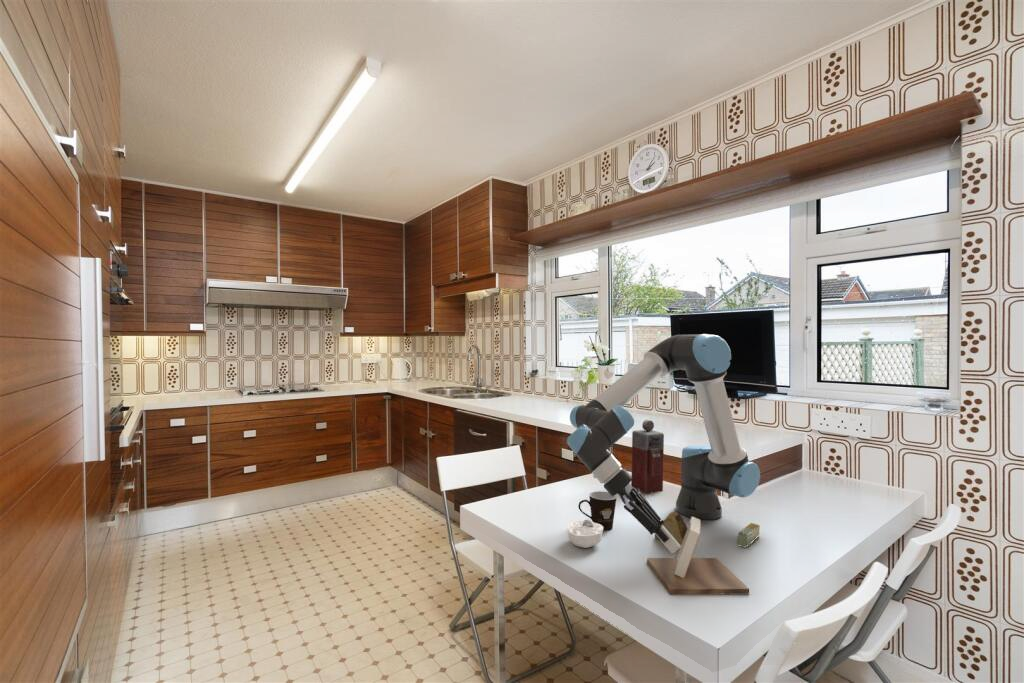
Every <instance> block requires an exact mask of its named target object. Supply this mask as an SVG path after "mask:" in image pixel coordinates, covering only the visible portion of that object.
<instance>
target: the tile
mask: <svg viewBox="0 0 1024 683" xmlns="http://www.w3.org/2000/svg"><path fill="white" fill-rule="evenodd" d="M701 522H702V521H701V519H697V518H695V517H690V519H689V523H688V526H687V531H686V534H685V537H684V540H683V542H682V545H681V547H680V549H679V552H678V554H677V556H676V558H677V562H676V568H675V574H676V575H678V576H680V577H682V578H685V575H686V573H687V570H688V567H689V564H690V561H691V559H692V558H693V556H694V552H695V549H696V547H697V545H698V541H699V539H700V536H701V526H702V525H701Z"/></svg>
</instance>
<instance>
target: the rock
mask: <svg viewBox="0 0 1024 683" xmlns="http://www.w3.org/2000/svg"><path fill="white" fill-rule="evenodd" d="M663 521H664V523H663V524H661V525H663V526H664V527H665V528H666V529H667V530H668V532H669V533H670V534H671V535H672V536H673V537H674V538H675V540H676V541H677V542H678V543H679V544H680V545H682V542H683V540H684V537H685V534H686V531H687V528H688V526H687V524H686V522H685V520H684V519H683V517H682V516H681V514H680V513H679V512H677V511H673V512H670V513H669V514H668V515H667V516H666V517H665V519H663ZM654 538H656V539H658V540H660V539H659V538H658V537H657V536H656V534H655V533H654Z"/></svg>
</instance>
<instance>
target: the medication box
mask: <svg viewBox="0 0 1024 683" xmlns="http://www.w3.org/2000/svg"><path fill="white" fill-rule="evenodd" d="M760 526H761V525H759V524H757V523H754V522H750V523H749V524H748V525H746V526H745V527H744V528H742V529H741V530H740V531H739V532H738V533H737V544H738V545H741V546H747V545H749V544H750V543H751V542H752V541H753V540H754V539H755V538H756V537H757V536H758V535H759V536H760ZM753 542H754V541H753ZM753 542H752V543H753ZM752 543H751V544H752ZM751 544H750V545H751ZM738 545H737V546H738ZM750 545H749V546H750ZM741 546H740V547H741Z"/></svg>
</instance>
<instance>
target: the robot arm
mask: <svg viewBox="0 0 1024 683" xmlns="http://www.w3.org/2000/svg"><path fill="white" fill-rule="evenodd" d="M731 352H732V351H731V348H730V346H729V345H728V343H727V341H726V340H725V339H724V338H722V337H721V336H719V335H717V334H716V335H715V334H709V333H702V334H700V333H699V334H676V335H672V336H670V337H667V338H666V339H664V340H662V341H660V342H659V343H657V344H655V346H653V347H652V348H651V349H649V350H648V351H647V352H645V353H644V355H643V359H642V360H640V361H639V362H638V363H637V364H635V365H634V366H633V367H631V368H630V369H629V370H628V371H627V372H625V373H624V374H623V375H622V376H620V377H619V378H618V379H617V380H615V381H614V382H613V383H612V384H610V385H609V386H608V387H607V388H605V389H604V390H603V391H601V393H599V394H598V395H597V396H595V397H594V398H593V399H592V400H590V401H589V402H588V403H586V404H585V405H584V404H582V405H576V406H574V407H573V408H572V409H571V411H570V413H569V420H570V424H571V425H572V426H573V427H574V428H575V431H573V432H572V433H571V434H570V435H568V437H567V439H566V443H567V445H568V446H569V448H570V449H571V450H572V452H573V453H574V455H576V456H577V458H578V459H579V460H580V461H581V462H582V463H583V464H584V465H585V466H586V468H587V469H588V470H589V471H590V472H591V474H592V475H593V478H594V479H596V480H597V481H598V482H599V483H600V484H603V488H604V489H605V490H606V492H608V493H609V494H610V495H611V496H614V495H616V496H617V495H618V496H619V497H620V499H621V501H622V503H623V504H624V505H623V508H624V510H626V511H627V512H629V514H631V516H632V517H634V519H636V520H637V521H638V522H639V524H641V525H642V526H643V528H644V529H646V530H647V531H648V533H649V535H653V534H654V535H655V534H656V536H657V537H658V538H659V539H658V538H657V539H658V540H660V541H661V543H662V544H663V545H664V546H665V548H667V550H668V551H669V552H670V553H671V554H673V555H674V553H676V552H677V551H678V550H680V548H681V545H680V544H679V543H678V542H677V541H676V540H675V538H674V537H673V536H672V535H671V534H670V533H669V532H668V530H667V529H666V528H665V527H664V526H663V525H661V524H663V523H664V519H661V517H660V516H659V515H658V513H657V512H656V510H655V509H654V508H653V507H652V505H651V504H650V503H649V501H648V500H647V499H646V497H645V496H644V495H643V492H641V491H640V490H639V489H638V488H637V489H635V488H633V487H632V486H631V484H630V483H631V480H632V474H630V473H629V472H628V471H627V470H626V468H622V464H621V463H620V461H619V460H618V459H616V457H615V456H614V455H613V454H612V453H611V452H610V450H609V449H610V448H611V447H612V446H613V445H615V443H617V442H618V441H619V440H620V439H622V437H624V436H625V435H626V434H628V432H629V431H630V430H631V429H632V428H633V427H634V425H635V419H634V416H633V415H632V413H631V412H630V411H629V410H628V409H627V408H626V407H624V406H626V405H627V404H628V403H629V402H630V401H631V400H632V399H634V398H635V397H636V396H637V395H639V394H640V393H641V392H642V391H644V390H645V389H646V388H647V387H648V386H650V384H652V383H653V382H654V381H655V380H657V379H658V378H659V377H665V376H666V375H668V374H669V373H671V372H673V371H679V370H681V371H685V374H686V377H687V381H689V382H690V383H692V384H694V389H695V391H696V396H697V400H698V404H699V408H700V412H701V415H702V419H703V424H704V426H705V430H706V435H707V438H708V442H709V445H688V446H685V447H683V448H682V452H681V459H680V462H681V467H680V468H681V471H680V472H681V476H680V478H681V484H680V485H681V486H680V490H679V493H678V496H677V498H676V501H675V510H676V511H675V512H677V513H678V514H680V515H683V516H685V517H688V518H689V517H690V518H691V517H695V518H697V519H699V520H708V519H709V520H717V519H716V518H718V519H720V518H722V514H723V513H722V512H723V509H722V506H721V505H722V504H721V502H720V499H719V495H718V493H717V491H721V492H723V493H727V494H729V495H731V496H734V497H735V496H736V497H739V498H747V497H749V496H751V495H752V494H753V493H754V492H755V491H756V489H757V488H758V485H759V484H760V480H761V471H760V468H759V466H758V464H756V463H755V462H754V461H750V460H749V456H748V452H747V450H746V449H745V448H743V447H742V446H740V442H739V438H738V434H737V429H736V426H735V422H734V418H733V413H732V410H731V406H730V402H729V397H728V393H727V391H726V386H725V382H724V377H725V376H726V375H727V370H728V369H729V367H730V365H731V362H730V361H731V360H732V353H731ZM719 517H720V518H719Z"/></svg>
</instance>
